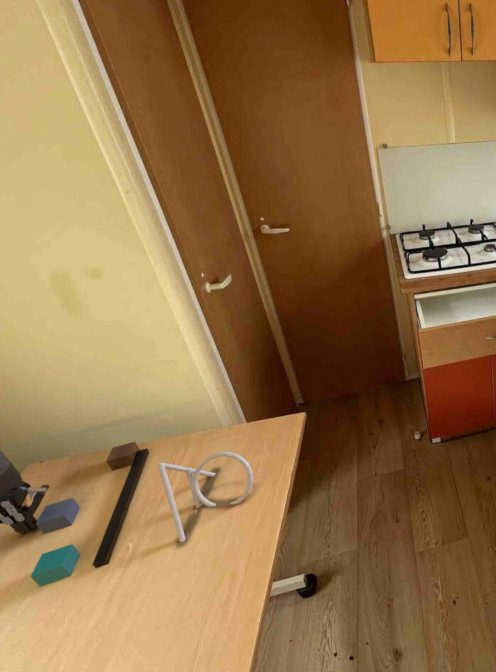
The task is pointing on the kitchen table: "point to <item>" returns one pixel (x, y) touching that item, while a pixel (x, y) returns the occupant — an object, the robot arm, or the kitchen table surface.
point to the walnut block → (122, 456)
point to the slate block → (58, 515)
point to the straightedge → (120, 510)
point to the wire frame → (195, 488)
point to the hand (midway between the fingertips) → (29, 529)
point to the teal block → (55, 565)
